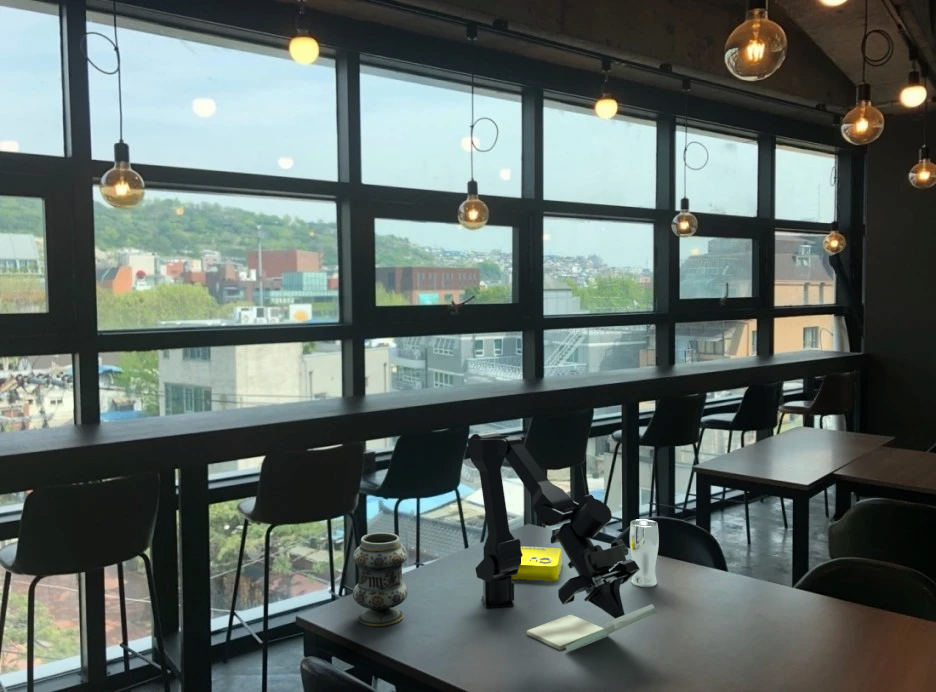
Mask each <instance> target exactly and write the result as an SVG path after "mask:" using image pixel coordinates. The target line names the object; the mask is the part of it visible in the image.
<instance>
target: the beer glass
mask: <svg viewBox="0 0 936 692" xmlns="http://www.w3.org/2000/svg"><path fill="white" fill-rule="evenodd" d="M658 525H659V524H658V522H657V521H654V520H651V519H645V518H644V519H642V518H641V519H634V520H631V521H630V527H629V529H630V530H629V547H630V548H629V549H630V555H631V560H634V561H635V562H636V564H637V565H638V567H639V568H640V570H639V571H638V572H637V573H635V574H634V575H633V576H632V577H631V583H632V585H634V586H636V587H641V588H652V587H655V586H657V584H658V582H657V576H656V565H657V564H656V563H657V558H658V552H659V544H660V543H659V542H660V541H659V539H660V537H659V536H660V535H659V526H658Z"/></svg>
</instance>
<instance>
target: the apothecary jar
mask: <svg viewBox="0 0 936 692" xmlns="http://www.w3.org/2000/svg"><path fill="white" fill-rule="evenodd" d="M352 557H353V561H354V563H355V564H356V565H357V566H358V583H357V584H356V585H355V586H354V588H353V591H352V597H353V600H354V601H355V603H356V604H358V605H359V606H360V607H362V608H365V609H366V610H364V611H362V612H361V613H360V614H359V615H358V621H359V622H360V624H362V625H364V626H369V627H377V626H378V627H387V626H386V625H388V626H392V625H395V624H398V623H399V622H400V620H401V619H402V620H403V618H404V614H403V612H402V610H399V609H397V608H396V607H398V606H399V605H401V604H402V603H403V602H405V600H406V599H407V597H408V592H409V591H408V587H407V585H406V583H404V581H403V563H405V562H406V560H407V557H408V551H407V549H406V547H405V546H403V544H401V540H400V536H398V534H395V533H391V532H373V533H372V532H371V533H368V534H364V535H363V536H362V537H361V539H360V544H359V546H358V547H357V548H356V549H355V550H354V553H353V556H352ZM402 620H401V621H402ZM398 621H399V622H398ZM394 623H395V624H394ZM391 624H392V625H391Z"/></svg>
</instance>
